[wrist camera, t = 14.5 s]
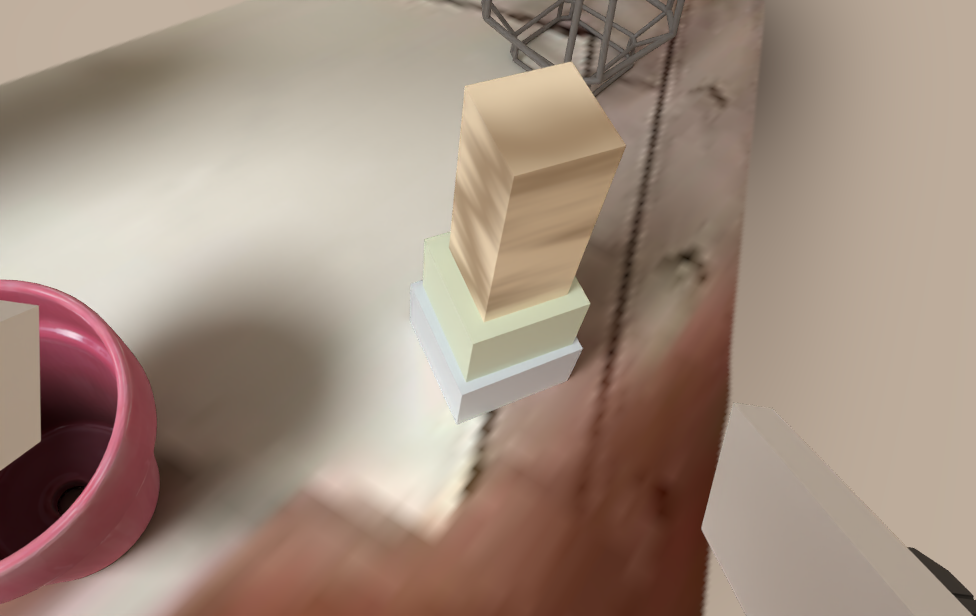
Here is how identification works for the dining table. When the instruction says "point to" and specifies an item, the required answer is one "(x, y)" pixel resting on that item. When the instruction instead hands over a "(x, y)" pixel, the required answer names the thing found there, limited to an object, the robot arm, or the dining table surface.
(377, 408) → the dining table surface
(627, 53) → the geometric lantern
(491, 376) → the tower base
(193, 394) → the dining table surface
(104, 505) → the plant pot
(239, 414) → the dining table surface
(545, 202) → the pillar
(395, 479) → the dining table surface
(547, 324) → the tower top
